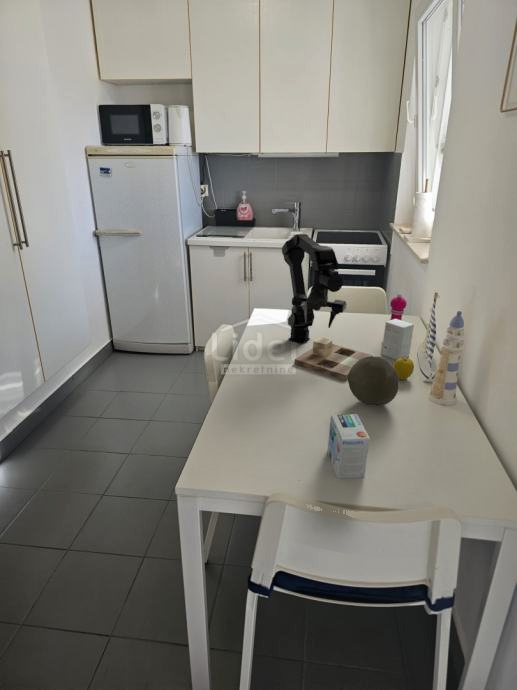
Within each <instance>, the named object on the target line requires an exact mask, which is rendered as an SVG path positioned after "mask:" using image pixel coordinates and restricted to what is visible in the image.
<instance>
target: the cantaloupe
mask: <svg viewBox="0 0 517 690" xmlns="http://www.w3.org/2000/svg"><path fill="white" fill-rule="evenodd" d="M393 366H394V365H392V363H391V362H390V361H388V360H387V359H386V358H383V357H380V356H370V357H364V358H362V359H360V360H358V361H357V362H356V363H355V364H354V365H353V366H352V368H351V370H350V372H349V375H348V379H347V384H348V387H349V389H350V391H351V393H352V395H353V396H354V397H355V398H356V400H357V401H359V402H360V403H362V404H364V405H365V406H372V407H382V406H386V405H387V404H389V403H391V402H393V400H394V399H395V397H396V396H397V394H398V391H399V388H400V387H399V385H400V384H399V383H400V381H399V380H400V379H399V378H398V374H397V372H396V371H395V369H394V368H393Z"/></svg>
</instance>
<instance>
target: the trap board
mask: <svg viewBox="0 0 517 690" xmlns="http://www.w3.org/2000/svg"><path fill="white" fill-rule="evenodd" d="M312 353H313V347H312V348H311V349H309V350H307V351H306V352H303V353H302V354H301V355H299V356H297V357H295V358H294V365H295V366H297V367H298V366H299V367H301V368H305V369H308V370H311V371H314V372H318V373H320V374H323V375H326V376H330V377H332V378H335V377H336V378H335V379H339V380H342V381H345V380H346V381H348V375H349V372H350V370H351V368H352V366H353V365H354V364H355V363H356V362H357V361H358V360H360V359H362V358H364V357H370V356H372V357H374V356H373V354H369V353H366V352H362V351H360V350H355V349H352V348H347V347H344V346H341V345H338V344H333V343H332V351H331V354H329V355H328V356H326V357H321V356H318V355H315V354H312ZM344 354H345V355H344ZM347 355H348V356H347ZM323 365H327V366H330V367H332V368H328V367H326V366H323Z"/></svg>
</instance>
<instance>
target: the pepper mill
mask: <svg viewBox="0 0 517 690" xmlns="http://www.w3.org/2000/svg"><path fill="white" fill-rule="evenodd" d="M389 305H390V307H391V308H390V313H391V315H390V319H389V321H390V320H393V319H398V320H401V321H403V320H402V318H403V317H402V316H403V315H404V314H405V309H406V308H407V300H406V299H405V298H404V297H403V295H402V293H398V294H397V295H396V296H395V297H393V298H392V299H391V300H390V304H389Z"/></svg>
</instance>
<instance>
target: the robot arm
mask: <svg viewBox="0 0 517 690" xmlns="http://www.w3.org/2000/svg"><path fill="white" fill-rule="evenodd" d="M305 253H306V254H308V255H309V256H310V257H309V260H310V261H311V263H312V265H311V269H313V271H312V284H311V285H312V286H311V289H310V293H309V295H307V293H306V292H307V291H306V287H305V286H306V285H305V280H304V273H303V265H302V264H303V261H304V259H305ZM281 254H282V255H283V260H284V262H285V263H286V264H287V265H288V267H289V273H290V280H291V286H292V287H291V288H292V294H293V297H292V298H291V305H292V308H291V313H290V315H289V316H288V318H287V325H288V326H289V327H290V337H288V341H290V342H293V343H297V344H304V343H306V342H307V341H309V340H311V338H310V329H309V327H313V324H314V321H315V313H314V311H316V312H317V311H320V310H321V308H331V311H330V312H329V314H330V316H329V319H328V326H327V327H328V329H330V328H331V326H332V324H333V322H334V320H335V318H336V317H337V315H340V314H342V313H343V312H345V311H346V309H347V302H346V300H340V299H335V300H334V301H328V300H329V292H330V293H331V292H332V293H336V292H339V290H341V289H342V287H343V284H344V281H343V278H342V277H341V275H339V271H338V270H339V262H338V260H337V257H336V252H335V250H334V248H332V247H331V246H328V245H322V244H319V243H318V242H316V241H315V240H314V239H313V238H311V237H310V236H309V235H308V234H307V233H298V234H294V235H293V236H292V238H289V240H286V241H285V242H284V244H283V245H282V247H281Z"/></svg>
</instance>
